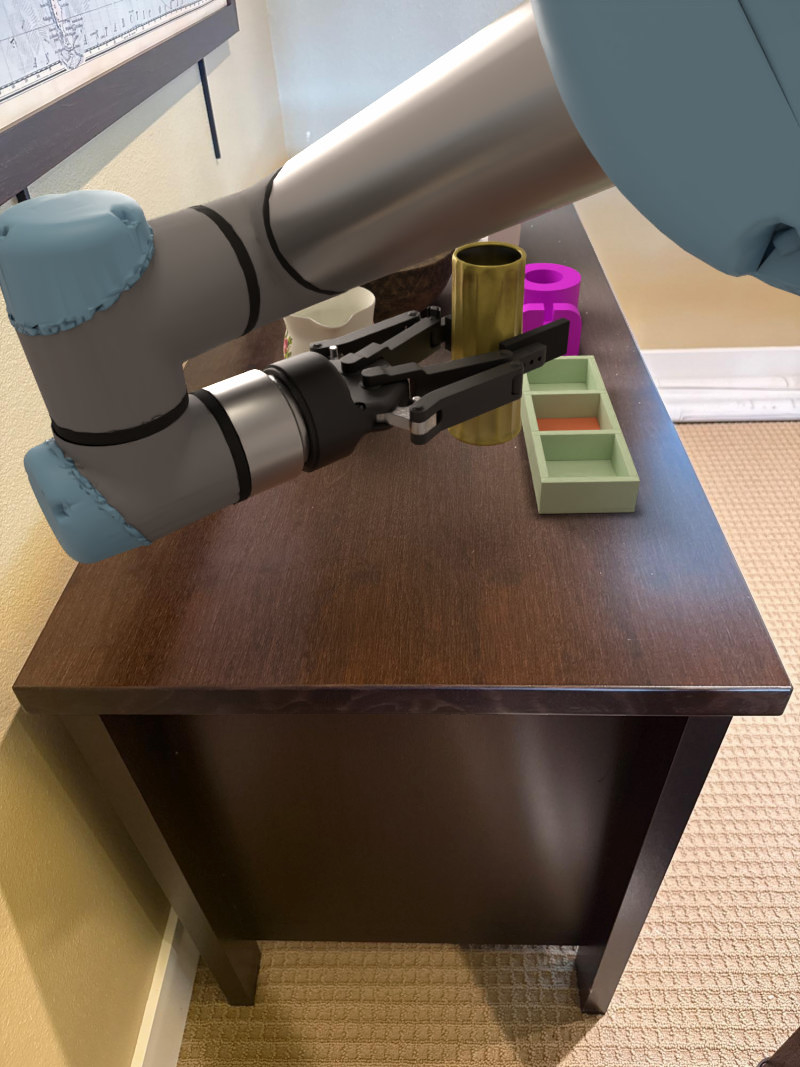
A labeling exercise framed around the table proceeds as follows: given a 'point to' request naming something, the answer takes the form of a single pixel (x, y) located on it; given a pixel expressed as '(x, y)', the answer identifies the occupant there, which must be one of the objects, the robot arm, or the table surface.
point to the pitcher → (328, 320)
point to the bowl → (410, 287)
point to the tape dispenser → (552, 299)
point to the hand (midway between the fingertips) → (535, 323)
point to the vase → (487, 324)
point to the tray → (575, 440)
